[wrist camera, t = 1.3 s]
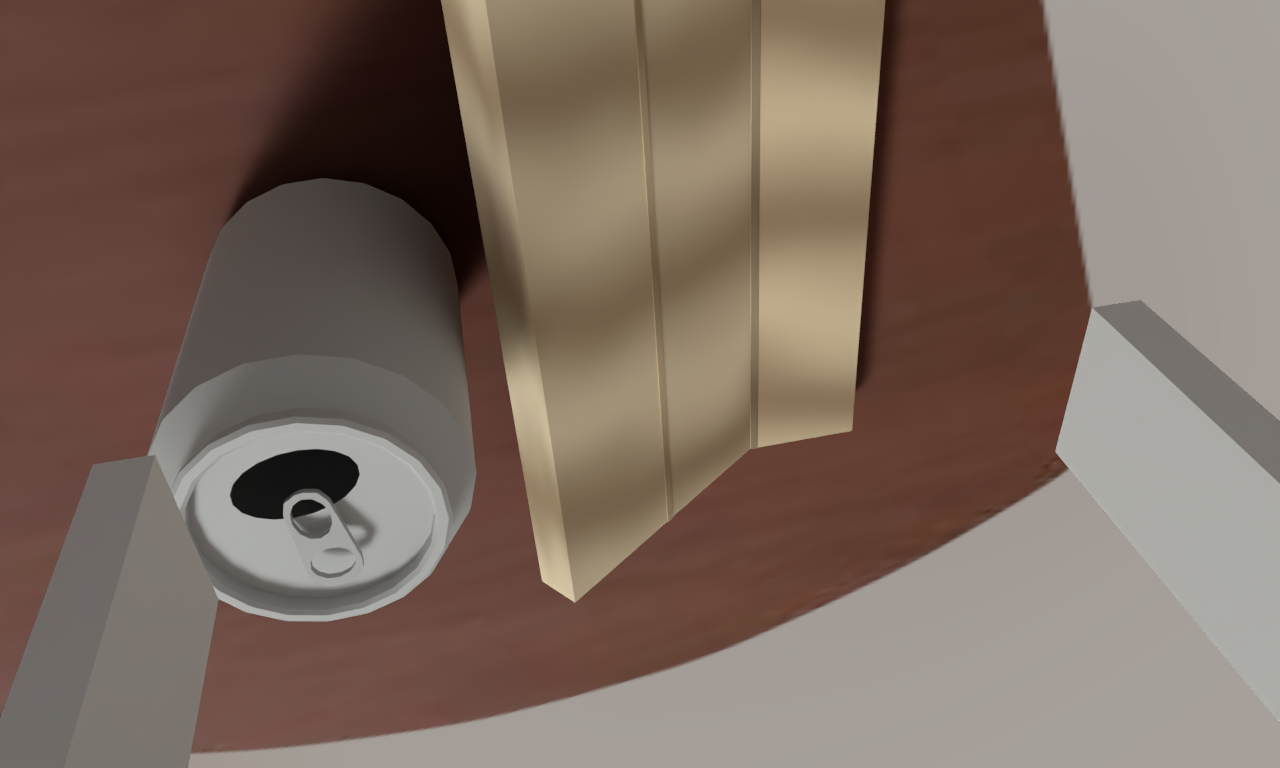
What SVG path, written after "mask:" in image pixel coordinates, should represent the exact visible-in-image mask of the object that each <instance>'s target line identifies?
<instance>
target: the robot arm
mask: <svg viewBox="0 0 1280 768" xmlns="http://www.w3.org/2000/svg"><path fill="white" fill-rule="evenodd" d="M1055 452H1056V453H1057V455H1058V456H1059V457H1060V458H1061V459H1062V461H1063V462H1064V463H1065V464H1066V465H1067V467H1068V468H1069V469H1070V470H1071V471H1072V473H1073V474H1074V475H1075V476H1076V477H1077V479H1078V480H1079V481H1080V482H1081V483H1082V485H1083V486H1084V487H1085V488H1086V490H1087V491H1088V492H1089V493H1090V494H1091V496H1092V497H1093V498H1094V499H1095V500H1096V502H1097V503H1098V504H1099V505H1100V507H1101V508H1102V509H1103V510H1104V511H1105V513H1106V514H1107V515H1108V516H1109V517H1110V518H1111V520H1112V521H1113V522H1114V523H1115V524H1116V526H1117V527H1118V528H1119V529H1120V531H1121V532H1122V533H1123V534H1124V535H1125V537H1126V538H1127V539H1128V540H1129V542H1130V543H1131V544H1132V545H1133V546H1134V547H1135V549H1136V550H1137V551H1138V552H1139V554H1140V555H1141V556H1142V557H1143V558H1144V560H1145V561H1146V562H1147V563H1148V565H1149V566H1150V567H1151V568H1152V569H1153V571H1154V572H1155V573H1156V574H1157V575H1158V576H1159V578H1160V579H1161V580H1162V581H1163V583H1164V584H1165V585H1166V586H1167V588H1168V589H1169V590H1170V591H1171V592H1172V594H1173V595H1174V596H1175V597H1176V598H1177V600H1178V601H1179V602H1180V603H1181V604H1182V606H1183V607H1184V608H1185V609H1186V610H1187V612H1188V613H1189V614H1190V615H1191V616H1192V618H1193V619H1194V620H1195V621H1196V623H1197V624H1198V625H1199V626H1200V627H1201V629H1202V630H1203V631H1204V632H1205V633H1206V635H1207V636H1208V637H1209V638H1210V640H1211V641H1212V642H1213V643H1214V644H1215V646H1216V647H1217V648H1218V649H1219V650H1220V651H1221V653H1222V654H1223V655H1224V656H1225V658H1226V659H1227V660H1228V661H1229V662H1230V664H1231V665H1232V666H1233V667H1234V669H1235V670H1236V671H1237V672H1238V673H1239V674H1240V676H1241V677H1242V678H1243V679H1244V681H1245V682H1246V683H1247V684H1248V685H1249V687H1250V688H1251V689H1252V690H1253V691H1254V693H1255V694H1256V695H1257V696H1258V697H1259V699H1260V700H1261V701H1262V702H1263V704H1264V705H1265V706H1266V707H1267V708H1268V710H1269V711H1270V712H1271V713H1272V714H1273V716H1274V717H1275V718H1276V719H1277V720H1278V722H1279V723H1280V421H1279V420H1278V419H1277V418H1275V417H1274V416H1273V415H1272V414H1271V413H1270V412H1268V411H1267V410H1266V409H1265V408H1264V407H1263V406H1262V405H1261V404H1259V403H1258V402H1257V401H1256V400H1255V399H1253V398H1252V397H1251V396H1250V395H1249V394H1247V392H1245V391H1244V390H1243V389H1242V388H1241V387H1240V386H1238V385H1237V384H1236V383H1235V382H1234V381H1233V380H1232V379H1231V378H1229V377H1228V376H1227V375H1226V374H1225V373H1224V372H1223V371H1221V370H1220V369H1219V368H1218V367H1217V366H1216V365H1214V364H1213V363H1212V362H1211V361H1210V360H1209V359H1208V358H1206V357H1205V356H1204V355H1203V354H1202V353H1201V352H1199V351H1198V350H1197V349H1196V348H1195V347H1194V346H1193V345H1191V344H1190V343H1189V342H1188V341H1187V340H1186V339H1185V338H1183V337H1182V336H1181V335H1180V334H1179V333H1178V332H1177V331H1175V330H1174V329H1173V328H1172V327H1171V326H1170V325H1168V324H1167V323H1166V322H1165V321H1164V320H1163V319H1162V318H1160V317H1159V316H1158V315H1157V314H1156V313H1155V312H1153V311H1152V310H1151V309H1150V308H1149V307H1148V306H1146V305H1145V304H1144V303H1143V302H1142V301H1141V300H1139V301H1132V302H1126V303H1119V304H1113V305H1107V306H1101V307H1094V308H1092V311H1091V315H1090V319H1089V323H1088V327H1087V331H1086V335H1085V338H1084V342H1083V346H1082V350H1081V354H1080V358H1079V362H1078V366H1077V369H1076V373H1075V377H1074V381H1073V385H1072V389H1071V393H1070V397H1069V401H1068V404H1067V408H1066V412H1065V416H1064V420H1063V424H1062V428H1061V432H1060V435H1059V439H1058V443H1057V447H1056V451H1055ZM217 605H218V597H217V595H216V592H215V590H214V588H213V585H212V583H211V581H210V579H209V576H208V574H207V572H206V570H205V567H204V565H203V563H202V560H201V558H200V556H199V554H198V551H197V549H196V547H195V544H194V542H193V540H192V538H191V535H190V533H189V531H188V528H187V526H186V524H185V522H184V519H183V517H182V515H181V513H180V510H179V508H178V506H177V503H176V501H175V499H174V497H173V494H172V492H171V490H170V487H169V485H168V483H167V481H166V478H165V476H164V474H163V472H162V469H161V467H160V465H159V462H158V460H157V458H156V456H155V455H151V456H145V457H139V458H132V459H126V460H119V461H113V462H107V463H100V464H94V465H93V466H92V469H91V471H90V474H89V477H88V480H87V482H86V485H85V488H84V491H83V493H82V496H81V499H80V501H79V504H78V507H77V510H76V512H75V515H74V518H73V521H72V523H71V526H70V529H69V532H68V534H67V537H66V540H65V543H64V545H63V548H62V551H61V553H60V556H59V559H58V562H57V564H56V567H55V570H54V573H53V575H52V578H51V581H50V584H49V586H48V589H47V592H46V594H45V597H44V600H43V603H42V605H41V608H40V611H39V614H38V616H37V619H36V622H35V625H34V627H33V630H32V633H31V636H30V638H29V641H28V644H27V646H26V649H25V652H24V655H23V657H22V660H21V663H20V666H19V668H18V671H17V674H16V677H15V679H14V682H13V685H12V687H11V690H10V693H9V696H8V698H7V701H6V704H5V707H4V709H3V712H2V715H1V718H0V768H188V764H189V759H190V753H191V748H192V742H193V737H194V731H195V726H196V720H197V715H198V709H199V704H200V698H201V693H202V687H203V682H204V676H205V671H206V665H207V660H208V654H209V649H210V643H211V638H212V632H213V627H214V621H215V616H216V610H217Z"/></svg>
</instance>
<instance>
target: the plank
mask: <svg viewBox="0 0 1280 768" xmlns="http://www.w3.org/2000/svg"><path fill="white" fill-rule="evenodd" d="M441 3H442V9H443V15H444V20H445V26H446V32H447V37H448V43H449V49H450V55H451V60H452V66H453V72H454V78H455V83H456V89H457V95H458V101H459V106H460V112H461V118H462V124H463V129H464V135H465V141H466V147H467V152H468V158H469V164H470V169H471V175H472V181H473V187H474V192H475V198H476V204H477V210H478V215H479V221H480V227H481V233H482V238H483V244H484V250H485V256H486V261H487V267H488V273H489V279H490V284H491V290H492V296H493V301H494V307H495V313H496V319H497V324H498V330H499V336H500V342H501V347H502V353H503V359H504V365H505V370H506V376H507V382H508V388H509V393H510V399H511V405H512V411H513V416H514V422H515V428H516V433H517V439H518V445H519V451H520V456H521V462H522V468H523V474H524V479H525V485H526V491H527V497H528V502H529V508H530V514H531V520H532V525H533V531H534V537H535V542H536V548H537V554H538V560H539V565H540V571H541V577H542V581H543V582H544V583H546V584H547V585H549V586H550V587H552V588H553V589H555V590H557V591H558V592H560V593H561V594H563V595H564V596H566V597H567V598H569V599H570V600H572V601H573V602H576V601H577V600H579V599H580V598H581V597H582V596H583V595H584V594H585V593H587V592H588V591H589V590H590V589H591V588H592V587H593V586H595V585H596V584H597V583H598V582H599V581H600V580H601V579H603V578H604V577H605V576H606V575H607V574H608V573H609V572H610V571H612V570H613V569H614V568H615V567H616V566H617V565H618V564H620V563H621V562H622V561H623V560H624V559H625V558H626V557H628V556H629V555H630V554H631V553H632V552H633V551H634V550H636V549H637V548H638V547H639V546H640V545H641V544H642V543H643V542H645V541H646V540H647V539H648V538H649V537H650V536H651V535H653V534H654V533H655V532H656V531H657V530H658V529H659V528H661V527H662V526H663V525H664V524H665V523H666V522H669V521H670V520H671V519H672V518H673V516H674V515H675V514H676V513H678V512H679V511H680V510H681V509H682V508H683V507H684V506H686V505H687V504H688V503H689V502H690V501H691V500H692V499H694V498H695V497H696V496H697V495H698V494H699V493H700V492H702V491H703V490H704V489H705V488H706V487H707V486H708V485H710V484H711V483H712V482H713V481H714V480H715V479H716V478H717V477H719V476H720V475H721V474H722V473H723V472H724V471H725V470H727V469H728V468H729V467H730V466H731V465H732V464H733V463H735V462H736V461H737V460H738V459H739V458H740V457H741V456H743V455H744V454H745V453H746V452H747V451H748V450H749V449H750V157H751V0H441Z"/></svg>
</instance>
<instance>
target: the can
mask: <svg viewBox="0 0 1280 768" xmlns="http://www.w3.org/2000/svg"><path fill="white" fill-rule="evenodd" d="M151 455H155V456H156V458H157V460H158V462H159V465H160V467H161V469H162V472H163V474H164V476H165V478H166V481H167V483H168V485H169V487H170V490H171V492H172V494H173V497H174V499H175V501H176V503H177V506H178V508H179V510H180V513H181V515H182V517H183V519H184V522H185V524H186V526H187V528H188V531H189V533H190V535H191V538H192V540H193V542H194V544H195V547H196V549H197V551H198V554H199V556H200V558H201V560H202V563H203V565H204V567H205V570H206V572H207V574H208V576H209V579H210V581H211V583H212V585H213V588H214V590H215V592H216V595H217V597H218V599H220V600H222V601H224V602H226V603H228V604H230V605H232V606H234V607H236V608H238V609H241V610H243V611H245V612H248V613H253V614H257V615H262V616H266V617H271V618H275V619H280V620H284V621H332V620H337V619H341V618H346V617H351V616H356V615H361V614H366V613H369V612H372V611H374V610H376V609H378V608H380V607H383V606H385V605H387V604H389V603H391V602H393V601H396V600H398V599H400V598H402V597H404V596H405V595H407V594H408V593H409V592H410V591H411V590H413V589H414V588H415V587H416V586H417V585H419V584H420V583H421V582H422V581H423V580H425V579H426V578H427V577H428V576H429V575H430V574H431V573H432V572H433V570H434V569H435V567H436V565H437V564H438V562H439V560H440V559H441V557H442V556H443V554H444V552H445V551H446V549H447V547H448V545H449V543H450V542H451V540H452V539H453V537H454V535H455V534H456V532H457V531H458V529H459V527H460V526H461V524H462V522H463V521H464V519H465V518H466V516H467V514H468V513H469V511H470V508H471V502H472V496H473V491H474V485H475V479H476V466H475V456H474V445H473V435H472V425H471V415H470V405H469V395H468V385H467V375H466V365H465V355H464V345H463V334H462V324H461V314H460V304H459V294H458V285H457V281H456V276H455V272H454V267H453V263H452V259H451V254H450V252H449V251H448V249H447V247H446V246H445V244H444V243H443V241H442V240H441V238H440V236H439V235H438V233H437V232H436V230H435V229H434V227H433V225H432V224H431V223H430V222H429V221H428V220H426V219H425V218H424V217H423V216H422V215H420V214H419V213H418V212H417V211H415V210H414V209H413V208H412V207H411V206H409V205H408V204H407V203H406V202H405V201H403V200H402V199H400V198H398V197H396V196H393V195H391V194H388V193H386V192H384V191H381V190H379V189H377V188H374V187H372V186H370V185H367V184H365V183H359V182H350V181H342V180H334V179H326V178H320V179H314V180H307V181H301V182H295V183H289V184H283V185H280V186H278V187H276V188H274V189H272V190H270V191H268V192H266V193H264V194H262V195H260V196H258V197H256V198H254V199H252V200H250V201H248V202H246V203H245V205H244V206H243V207H242V208H241V209H240V210H239V211H238V212H237V213H236V214H235V215H234V216H233V217H232V218H231V219H230V220H229V221H228V222H227V223H226V224H225V226H224V227H223V228H222V229H221V231H220V233H219V236H218V238H217V241H216V243H215V246H214V248H213V251H212V253H211V256H210V258H209V261H208V264H207V267H206V270H205V273H204V276H203V280H202V283H201V286H200V289H199V292H198V296H197V299H196V302H195V305H194V308H193V312H192V315H191V318H190V321H189V324H188V327H187V331H186V334H185V337H184V340H183V343H182V347H181V350H180V353H179V356H178V359H177V363H176V366H175V369H174V372H173V375H172V379H171V382H170V385H169V388H168V391H167V394H166V398H165V401H164V404H163V407H162V410H161V414H160V417H159V420H158V423H157V426H156V430H155V433H154V436H153V439H152V442H151V445H150V449H149V452H148V455H147V456H151Z"/></svg>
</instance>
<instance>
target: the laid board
mask: <svg viewBox="0 0 1280 768" xmlns="http://www.w3.org/2000/svg"><path fill="white" fill-rule="evenodd" d="M884 11H885V0H751V157H750V449H756V448H758V447H763V446H769V445H774V444H780V443H786V442H791V441H797V440H803V439H808V438H814V437H819V436H825V435H831V434H836V433H842V432H848V431H852V423H853V410H854V398H855V385H856V372H857V359H858V346H859V333H860V320H861V307H862V295H863V282H864V269H865V256H866V243H867V230H868V217H869V204H870V192H871V179H872V166H873V153H874V140H875V127H876V114H877V101H878V89H879V76H880V63H881V50H882V37H883V24H884Z"/></svg>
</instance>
